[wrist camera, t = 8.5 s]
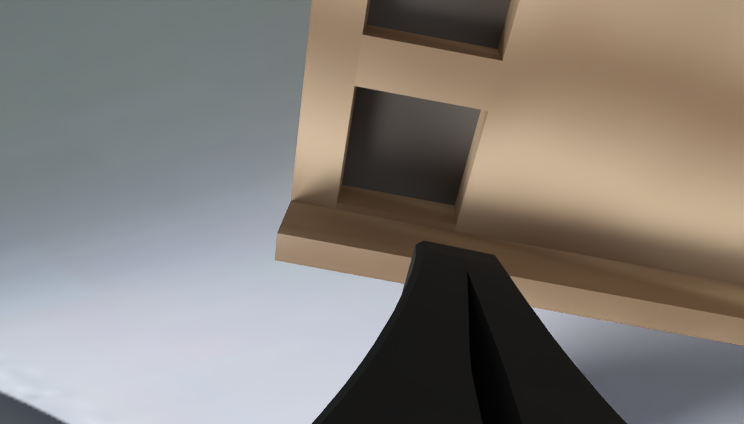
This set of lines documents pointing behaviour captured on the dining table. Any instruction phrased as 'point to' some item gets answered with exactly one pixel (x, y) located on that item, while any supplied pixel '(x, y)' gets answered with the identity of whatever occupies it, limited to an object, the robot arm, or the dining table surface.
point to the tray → (532, 150)
